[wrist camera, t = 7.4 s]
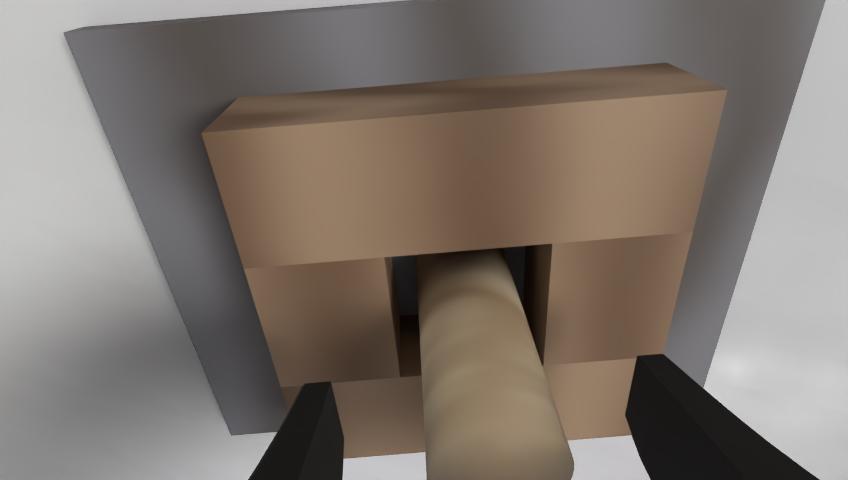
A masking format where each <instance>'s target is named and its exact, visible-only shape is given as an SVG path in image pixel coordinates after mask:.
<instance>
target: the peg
mask: <svg viewBox="0 0 848 480" xmlns="http://www.w3.org/2000/svg"><path fill="white" fill-rule="evenodd" d="M416 270H417V290H418V310H419V330H420V351H421V371H422V391H423V411H424V431H425V451H426V471H427V480H571V478H572V475H573V471H574V461H573V457H572V454H571V451H570V448H569V445H568V442H567V439H566V436H565V433H564V430H563V427H562V424H561V421H560V418H559V415H558V412H557V409H556V406H555V403H554V400H553V397H552V394H551V391H550V388H549V385H548V382H547V379H546V376H545V373H544V370H543V367H542V364H541V361H540V358H539V355H538V352H537V349H536V346H535V343H534V340H533V337H532V334H531V331H530V328H529V325H528V322H527V319H526V316H525V313H524V310H523V307H522V304H521V301H520V298H519V295H518V293H517V290H516V287H515V284H514V281H513V278H512V275H511V272H510V269H509V266H508V263H507V260H506V257H505V254H504V251H503V248H492V249H480V250H468V251H456V252H443V253H431V254H419V255H417V256H416Z"/></svg>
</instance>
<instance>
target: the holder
mask: <svg viewBox="0 0 848 480" xmlns="http://www.w3.org/2000/svg"><path fill="white" fill-rule="evenodd" d="M824 3H825V0H408V1H396V2H384V3H371V4H359V5H347V6H335V7H322V8H310V9H298V10H286V11H274V12H261V13H249V14H237V15H225V16H213V17H200V18H188V19H176V20H164V21H151V22H139V23H127V24H115V25H103V26H90V27H83V28H79V29H75V30H71V31H68V32H64V35H65V37H66V40H67V42H68V45H69V47H70V49H71V52H72V54H73V57H74V59H75V61H76V64H77V66H78V69H79V71H80V73H81V76H82V78H83V81H84V83H85V85H86V88H87V90H88V93H89V95H90V97H91V100H92V102H93V105H94V107H95V109H96V112H97V114H98V117H99V119H100V121H101V124H102V126H103V129H104V131H105V133H106V136H107V138H108V141H109V143H110V145H111V148H112V150H113V153H114V155H115V157H116V160H117V162H118V165H119V167H120V169H121V172H122V174H123V177H124V179H125V182H126V184H127V186H128V189H129V191H130V194H131V196H132V198H133V201H134V203H135V206H136V208H137V210H138V213H139V215H140V218H141V220H142V222H143V225H144V227H145V230H146V232H147V234H148V237H149V239H150V242H151V244H152V246H153V249H154V251H155V254H156V256H157V258H158V261H159V263H160V266H161V268H162V270H163V273H164V275H165V278H166V280H167V282H168V285H169V287H170V290H171V292H172V294H173V297H174V299H175V302H176V304H177V306H178V309H179V311H180V314H181V316H182V319H183V321H184V323H185V326H186V328H187V331H188V333H189V335H190V338H191V340H192V343H193V345H194V347H195V350H196V352H197V355H198V357H199V359H200V362H201V364H202V367H203V369H204V371H205V374H206V376H207V379H208V381H209V383H210V386H211V388H212V391H213V393H214V395H215V398H216V400H217V403H218V405H219V407H220V410H221V412H222V415H223V417H224V419H225V422H226V424H227V427H228V429H229V431H230V434H231V435H243V434H255V433H267V432H278V430H279V428H280V427H281V425H282V423H283V421H284V419H285V418H286V416H287V414H288V412H289V410H290V408H291V406H292V404H293V403H294V401H295V399H296V397H297V395H298V393H299V391H300V389H301V387H302V386H303V385H304V384H305V383H316V382H328V381H331V384H332V388H333V392H334V397H335V401H336V405H337V410H338V414H339V418H340V422H341V427H342V431H343V435H344V456H343V459H345V458H357V457H369V456H381V455H394V454H406V453H418V452H426V451H425V431H424V411H423V391H422V371H421V351H420V330H419V310H418V290H417V270H416V256H417V255H419V254H431V253H443V252H456V251H468V250H480V249H492V248H503V251H504V254H505V257H506V260H507V263H508V266H509V269H510V272H511V275H512V278H513V281H514V284H515V287H516V290H517V293H518V295H519V298H520V301H521V304H522V307H523V310H524V313H525V316H526V319H527V322H528V325H529V328H530V331H531V334H532V337H533V340H534V343H535V346H536V349H537V352H538V355H539V358H540V361H541V364H542V367H543V370H544V373H545V376H546V379H547V382H548V385H549V388H550V391H551V394H552V397H553V400H554V403H555V406H556V409H557V412H558V415H559V418H560V421H561V424H562V427H563V430H564V433H565V436H566V439H567V440H577V439H590V438H602V437H614V436H626V435H632V434H631V431H630V428H629V425H628V422H627V419H626V417H625V412H626V407H627V402H628V398H629V393H630V388H631V383H632V378H633V373H634V368H635V363H636V359H637V356H640V355H652V354H664V355H665V356H666V357H668V358H669V359H670V360H671V361H672V362H673V363H675V364H676V365H677V366H678V367H679V368H680V369H682V370H683V371H684V372H685V373H686V374H687V375H688V376H690V377H691V378H692V379H693V380H694V381H695V382H696V383H698V384H699V385H700V386H701V387H702V388H703V387H704V384H705V381H706V377H707V374H708V371H709V368H710V365H711V362H712V358H713V355H714V352H715V349H716V346H717V343H718V339H719V336H720V333H721V330H722V327H723V324H724V320H725V317H726V314H727V311H728V308H729V305H730V301H731V298H732V295H733V292H734V289H735V285H736V282H737V279H738V276H739V273H740V270H741V266H742V263H743V260H744V257H745V254H746V251H747V247H748V244H749V241H750V238H751V235H752V232H753V228H754V225H755V222H756V219H757V216H758V213H759V209H760V206H761V203H762V200H763V197H764V194H765V190H766V187H767V184H768V181H769V178H770V174H771V171H772V168H773V165H774V162H775V159H776V155H777V152H778V149H779V146H780V143H781V140H782V136H783V133H784V130H785V127H786V124H787V121H788V117H789V114H790V111H791V108H792V105H793V102H794V98H795V95H796V92H797V89H798V86H799V83H800V79H801V76H802V73H803V70H804V67H805V64H806V60H807V57H808V54H809V51H810V48H811V44H812V41H813V38H814V35H815V32H816V29H817V25H818V22H819V19H820V16H821V13H822V10H823V6H824Z"/></svg>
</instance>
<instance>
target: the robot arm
mask: <svg viewBox="0 0 848 480" xmlns="http://www.w3.org/2000/svg"><path fill="white" fill-rule="evenodd" d="M625 417H626V419H627V422H628V425H629V428H630V431H631V434H632V437H633V440H634V442H635V445H636V448H637V451H638V453H639V456H640V458H641V461H642V463H643V465H644V467H645V469H646V471H647V473H648V475H649V477H650V479H651V480H819V479H818V478H816V477H815V476H814V475H812V474H811V473H809V472H808V471H807V470H805V469H804V468H802V467H801V466H800V465H798V464H797V463H796V462H794V461H793V460H792V459H790V458H789V457H788V456H786V455H785V454H784V453H782V452H781V451H780V450H778V449H777V448H776V447H774V446H773V445H772V444H770V443H769V442H768V441H766V440H765V439H764V438H763V437H761V436H760V435H759V434H758V433H756V432H755V431H754V430H753V429H751V428H750V427H749V426H748V425H746V424H745V423H744V422H743V421H741V420H740V419H739V418H738V417H737V416H735V415H734V414H733V413H732V412H730V411H729V410H728V409H727V408H726V407H724V406H723V405H722V404H721V403H720V402H719V401H717V400H716V399H715V398H714V397H713V396H712V395H710V394H709V393H708V392H707V391H706V390H705V389H703V388H702V387H701V386H700V385H699V384H698V383H696V382H695V381H694V380H693V379H692V378H691V377H690V376H688V375H687V374H686V373H685V372H684V371H683V370H682V369H680V368H679V367H678V366H677V365H676V364H675V363H673V362H672V361H671V360H670V359H669V358H668V357H666V356H665V355H664V354H652V355H640V356H637V359H636V363H635V368H634V373H633V378H632V383H631V388H630V393H629V398H628V402H627V407H626V412H625ZM343 456H344V435H343V431H342V427H341V422H340V418H339V414H338V410H337V405H336V401H335V397H334V392H333V388H332V384H331V381H328V382H316V383H305V384H304V385H303V386H302V387H301V389H300V391H299V393H298V395H297V397H296V399H295V401H294V403H293V404H292V406H291V408H290V410H289V412H288V414H287V416H286V418H285V419H284V421H283V423H282V425H281V427H280V428H279V430H278V432H277V434H276V435H275V437H274V439H273V441H272V442H271V444H270V445H269V447H268V449H267V450H266V452H265V454H264V455H263V457H262V459H261V460H260V462H259V464H258V465H257V467H256V469H255V470H254V472H253V473H252V475H251V476H250V478H249V479H248V480H342V474H343Z"/></svg>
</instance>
